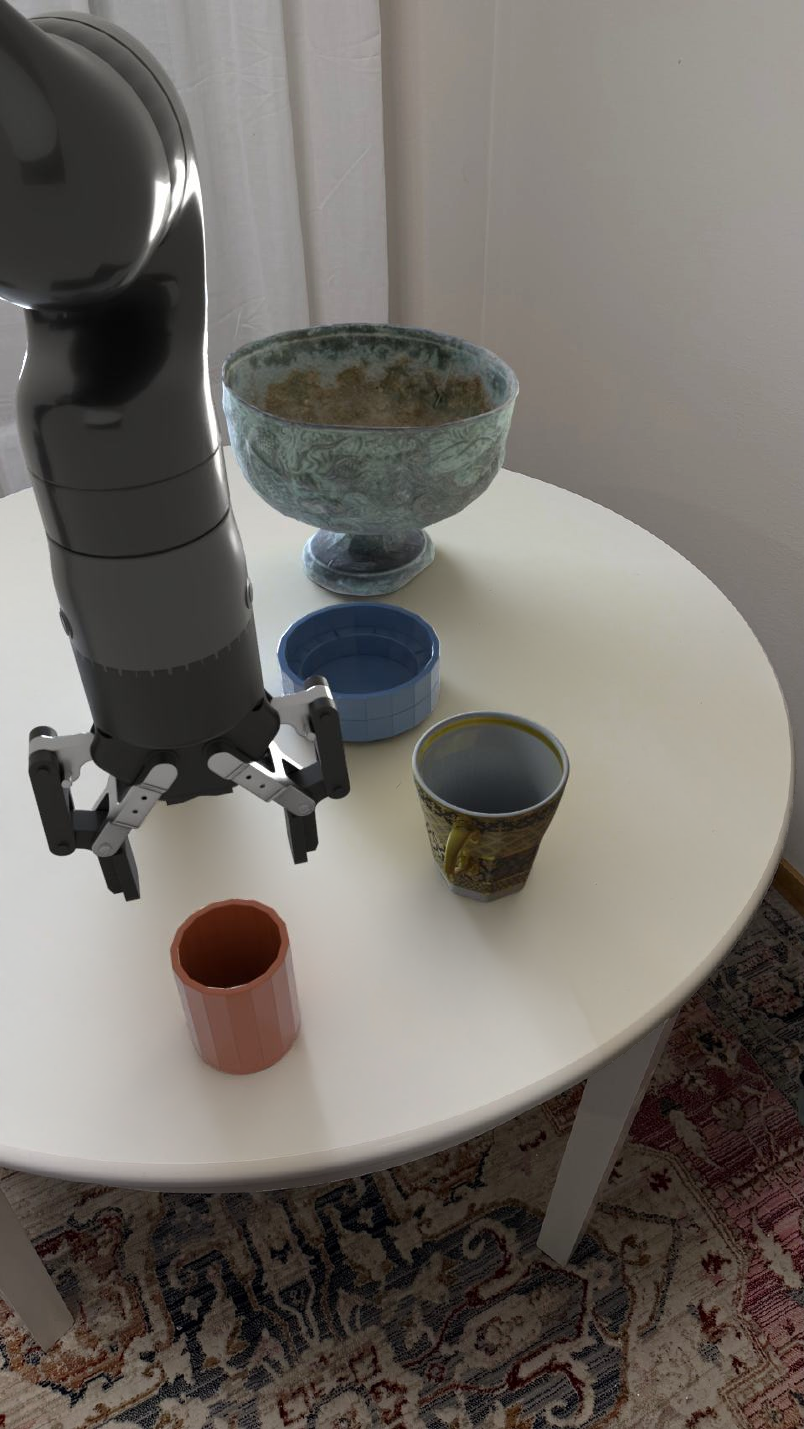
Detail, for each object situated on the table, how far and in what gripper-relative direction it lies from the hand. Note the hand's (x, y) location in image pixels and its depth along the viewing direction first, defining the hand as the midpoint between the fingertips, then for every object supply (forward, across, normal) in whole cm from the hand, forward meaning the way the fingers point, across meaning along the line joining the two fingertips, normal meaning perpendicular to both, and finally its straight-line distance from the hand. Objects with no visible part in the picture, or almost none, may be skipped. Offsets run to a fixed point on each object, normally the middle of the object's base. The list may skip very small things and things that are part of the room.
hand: (216, 869), depth 52 cm
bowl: (+14, -14, -29) cm, 35 cm away
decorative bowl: (+15, -20, -50) cm, 56 cm away
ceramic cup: (+14, -17, -7) cm, 23 cm away
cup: (+14, 0, 0) cm, 14 cm away
